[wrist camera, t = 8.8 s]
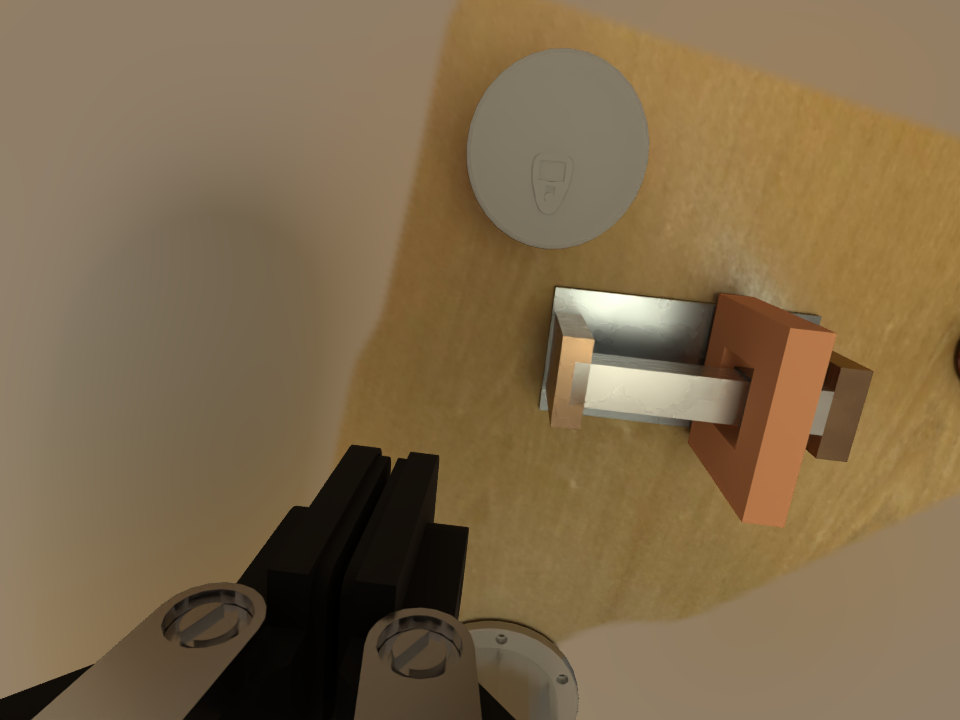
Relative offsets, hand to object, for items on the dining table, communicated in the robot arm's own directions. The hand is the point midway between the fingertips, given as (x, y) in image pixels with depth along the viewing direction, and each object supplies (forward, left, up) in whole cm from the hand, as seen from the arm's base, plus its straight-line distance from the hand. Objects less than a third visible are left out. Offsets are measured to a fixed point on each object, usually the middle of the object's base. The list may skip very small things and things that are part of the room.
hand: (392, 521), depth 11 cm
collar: (-3, -15, -26) cm, 30 cm away
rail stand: (-3, -12, -27) cm, 30 cm away
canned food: (+8, -3, -27) cm, 29 cm away
